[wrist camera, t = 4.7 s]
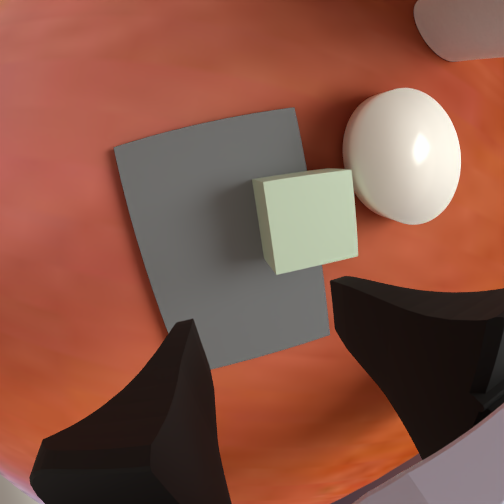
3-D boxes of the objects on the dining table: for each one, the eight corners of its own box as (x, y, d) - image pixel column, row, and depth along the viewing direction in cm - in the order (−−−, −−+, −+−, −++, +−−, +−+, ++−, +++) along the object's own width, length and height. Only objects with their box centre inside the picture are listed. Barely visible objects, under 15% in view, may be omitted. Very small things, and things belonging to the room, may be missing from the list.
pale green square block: (336, 243, 20) (358, 256, 18) (264, 258, 20) (276, 274, 17) (329, 168, 19) (351, 169, 16) (251, 179, 18) (263, 181, 15)
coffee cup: (382, 17, 17) (531, -52, 3) (417, -30, 16) (529, -84, 2) (458, 99, 20) (607, 94, 6) (482, 41, 19) (598, 23, 5)
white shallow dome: (439, 204, 22) (464, 211, 19) (347, 228, 21) (369, 238, 18) (424, 94, 19) (450, 90, 17) (325, 97, 18) (346, 88, 15)
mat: (326, 331, 23) (329, 334, 22) (185, 370, 22) (185, 375, 21) (291, 108, 18) (294, 107, 18) (115, 148, 17) (113, 147, 16)
